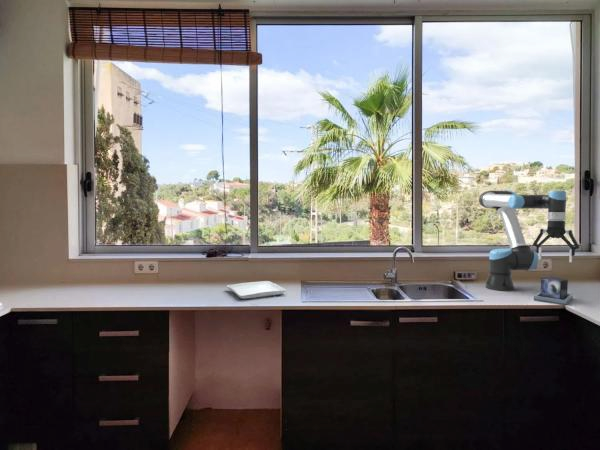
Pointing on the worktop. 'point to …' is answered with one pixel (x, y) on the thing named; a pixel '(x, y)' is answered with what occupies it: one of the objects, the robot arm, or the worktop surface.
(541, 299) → the tray
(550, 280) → the small box
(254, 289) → the square plate
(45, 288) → the worktop surface
